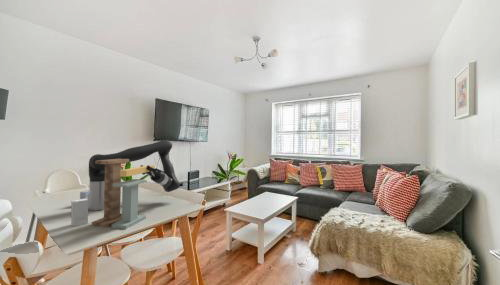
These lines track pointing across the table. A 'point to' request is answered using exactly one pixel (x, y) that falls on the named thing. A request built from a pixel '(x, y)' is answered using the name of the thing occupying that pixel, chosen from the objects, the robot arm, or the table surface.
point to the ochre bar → (135, 171)
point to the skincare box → (79, 212)
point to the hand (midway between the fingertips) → (144, 166)
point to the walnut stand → (111, 193)
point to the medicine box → (84, 195)
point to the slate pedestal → (129, 204)
